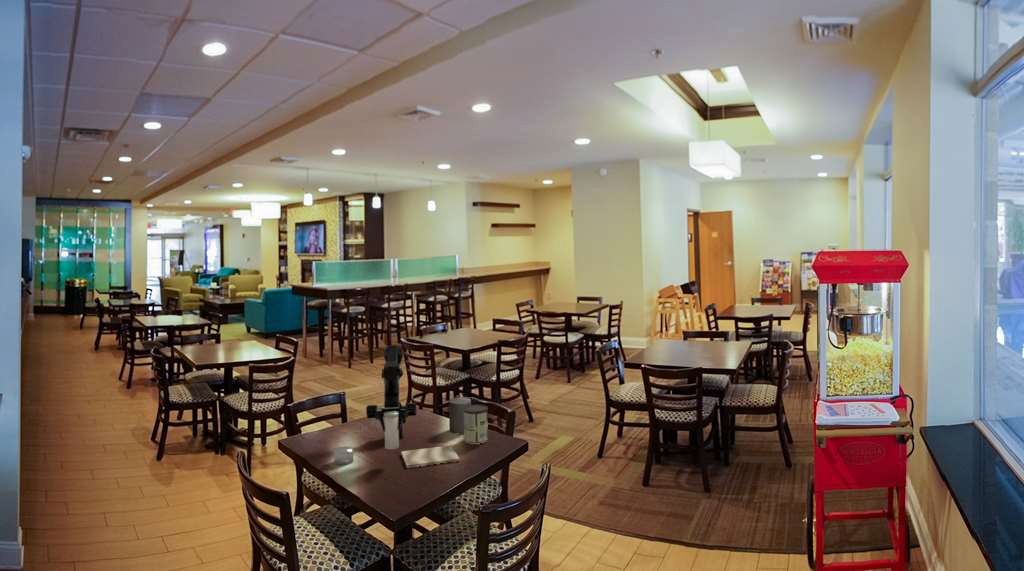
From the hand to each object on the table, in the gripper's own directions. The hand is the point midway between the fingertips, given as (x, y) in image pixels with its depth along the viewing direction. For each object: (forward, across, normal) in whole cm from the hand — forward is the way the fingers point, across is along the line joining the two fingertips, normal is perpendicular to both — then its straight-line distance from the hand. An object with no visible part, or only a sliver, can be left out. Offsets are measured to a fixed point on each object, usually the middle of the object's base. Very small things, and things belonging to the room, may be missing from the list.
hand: (391, 430), depth 215 cm
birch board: (+6, -14, -13) cm, 20 cm away
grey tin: (+4, +18, -15) cm, 24 cm away
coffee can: (-5, -34, -25) cm, 42 cm away
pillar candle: (-15, -29, -35) cm, 48 cm away
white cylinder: (+4, 0, -6) cm, 7 cm away
